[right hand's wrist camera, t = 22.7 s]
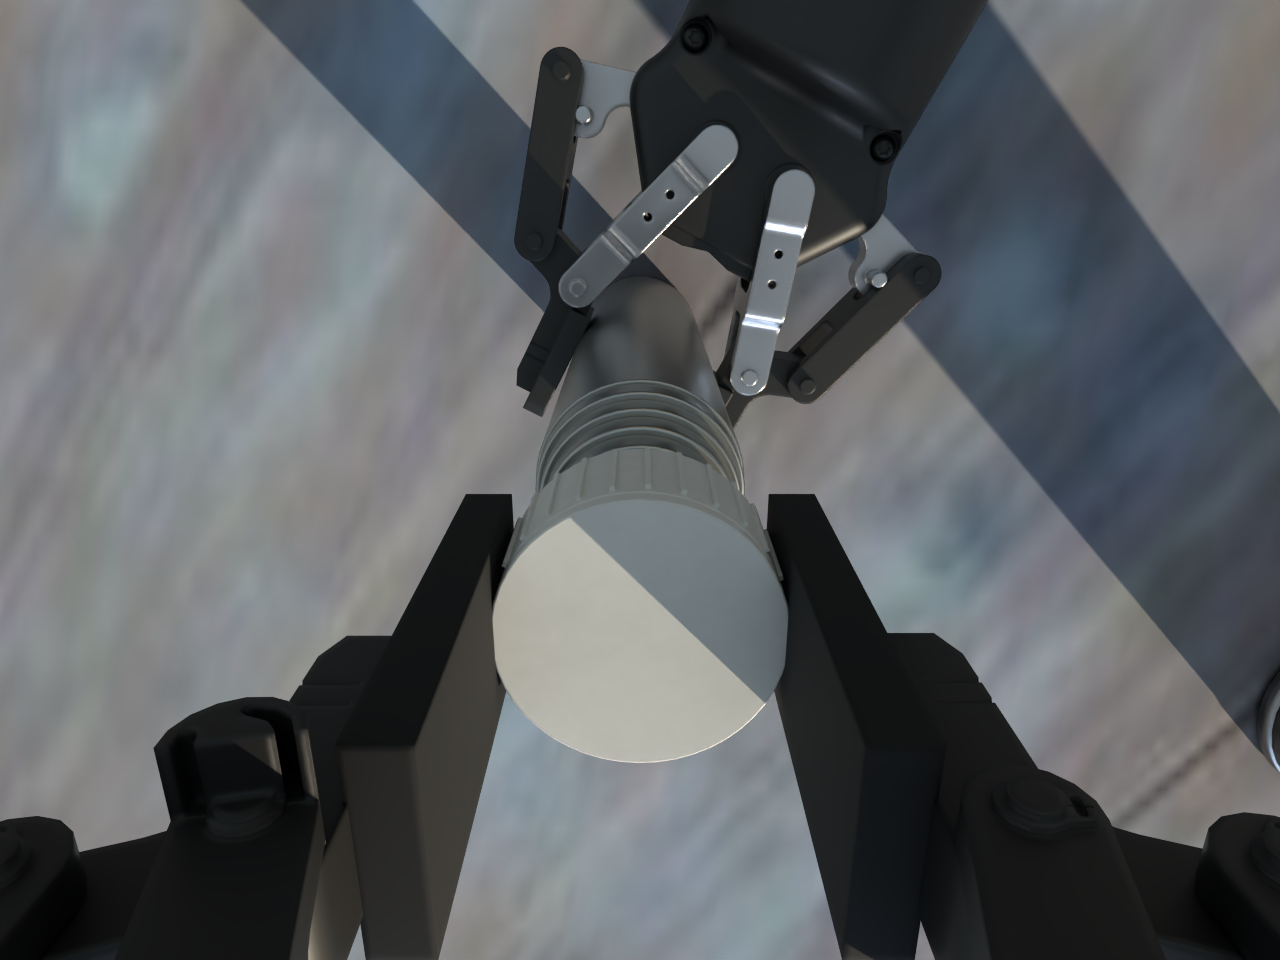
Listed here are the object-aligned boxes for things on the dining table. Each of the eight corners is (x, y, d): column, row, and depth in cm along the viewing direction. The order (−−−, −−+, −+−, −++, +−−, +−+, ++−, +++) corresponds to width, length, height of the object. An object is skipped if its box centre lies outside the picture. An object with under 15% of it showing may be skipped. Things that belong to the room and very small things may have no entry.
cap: (453, 545, 14) (421, 612, 12) (668, 389, 13) (673, 432, 11) (615, 724, 16) (611, 813, 13) (823, 592, 15) (854, 665, 13)
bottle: (571, 369, 35) (463, 697, 14) (601, 261, 34) (533, 438, 12) (676, 399, 36) (731, 764, 14) (710, 294, 34) (831, 522, 13)
